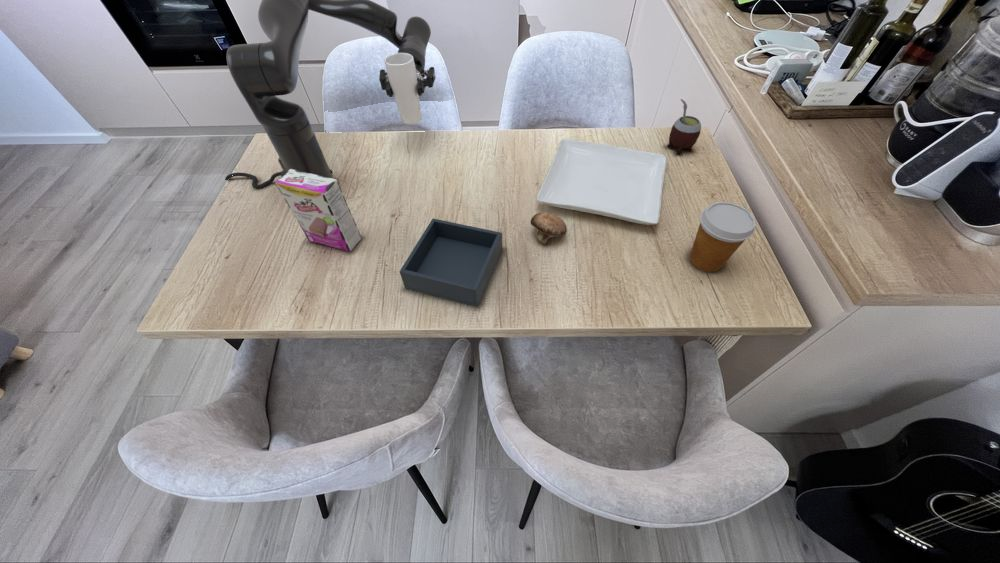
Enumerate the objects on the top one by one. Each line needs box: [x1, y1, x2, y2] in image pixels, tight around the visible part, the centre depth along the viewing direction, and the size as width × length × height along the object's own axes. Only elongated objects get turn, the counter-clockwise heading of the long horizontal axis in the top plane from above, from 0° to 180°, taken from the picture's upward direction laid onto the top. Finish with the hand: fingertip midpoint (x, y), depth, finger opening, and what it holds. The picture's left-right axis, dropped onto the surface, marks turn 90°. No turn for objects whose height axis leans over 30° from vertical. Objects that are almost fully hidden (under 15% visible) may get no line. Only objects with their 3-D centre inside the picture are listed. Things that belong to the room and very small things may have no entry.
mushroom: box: [530, 211, 568, 245], centre depth 86 cm, size 8×8×6 cm
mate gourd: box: [666, 98, 702, 156], centre depth 101 cm, size 8×8×15 cm
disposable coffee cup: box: [689, 201, 757, 273], centre depth 77 cm, size 10×10×12 cm
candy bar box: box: [275, 169, 362, 253], centre depth 82 cm, size 11×5×16 cm, turn 71°
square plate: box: [535, 138, 668, 226], centre depth 96 cm, size 27×27×4 cm
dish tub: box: [399, 218, 504, 308], centre depth 80 cm, size 16×16×5 cm
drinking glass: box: [384, 52, 423, 126], centre depth 96 cm, size 7×7×15 cm
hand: (404, 92), depth 94 cm, fingers closed on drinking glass, 6 cm apart
